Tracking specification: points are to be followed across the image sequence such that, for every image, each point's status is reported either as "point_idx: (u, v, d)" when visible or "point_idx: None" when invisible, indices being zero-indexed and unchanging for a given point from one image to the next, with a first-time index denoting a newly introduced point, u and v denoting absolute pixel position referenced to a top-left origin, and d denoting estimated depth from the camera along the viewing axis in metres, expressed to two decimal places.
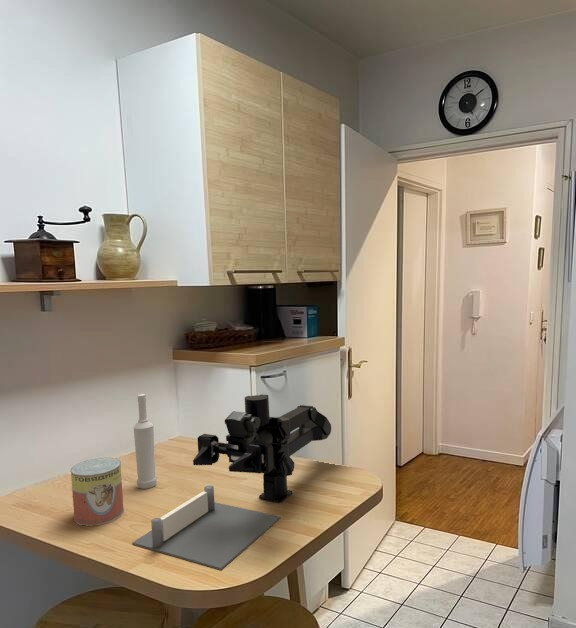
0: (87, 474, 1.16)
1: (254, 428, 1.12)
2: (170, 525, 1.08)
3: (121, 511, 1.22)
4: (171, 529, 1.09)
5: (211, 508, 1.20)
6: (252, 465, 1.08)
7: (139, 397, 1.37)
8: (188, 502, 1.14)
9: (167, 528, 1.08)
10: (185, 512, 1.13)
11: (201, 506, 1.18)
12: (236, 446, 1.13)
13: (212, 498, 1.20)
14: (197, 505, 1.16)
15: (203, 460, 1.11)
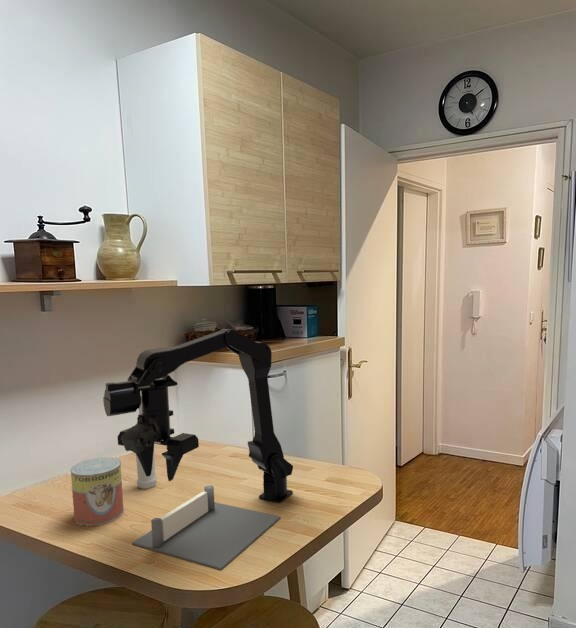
0: (87, 474, 1.16)
1: (154, 440, 1.05)
2: (170, 525, 1.08)
3: (121, 511, 1.22)
4: (171, 529, 1.09)
5: (211, 508, 1.20)
6: None
7: None
8: (188, 502, 1.14)
9: (167, 528, 1.08)
10: (185, 512, 1.13)
11: (201, 506, 1.18)
12: None
13: (212, 498, 1.20)
14: (197, 505, 1.16)
15: (149, 460, 1.14)
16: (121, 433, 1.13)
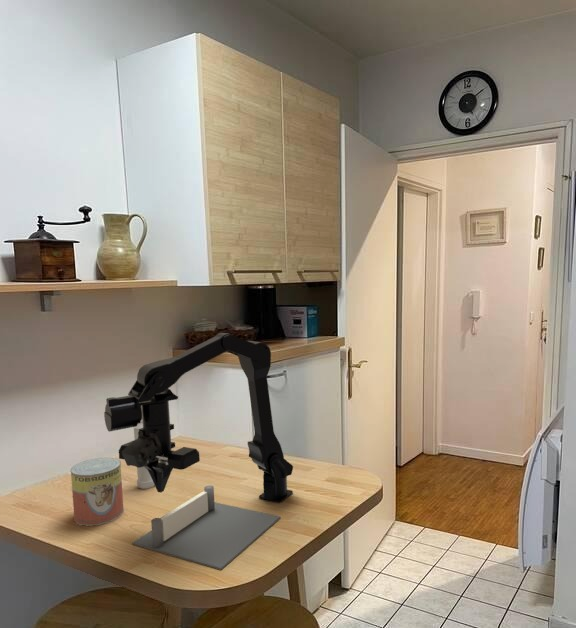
0: (87, 474, 1.16)
1: (155, 455, 1.05)
2: (170, 525, 1.08)
3: (121, 511, 1.22)
4: (171, 529, 1.09)
5: (211, 508, 1.20)
6: None
7: None
8: (188, 502, 1.14)
9: (167, 528, 1.08)
10: (185, 512, 1.13)
11: (201, 506, 1.18)
12: None
13: (212, 498, 1.20)
14: (197, 505, 1.16)
15: None
16: (122, 447, 1.13)
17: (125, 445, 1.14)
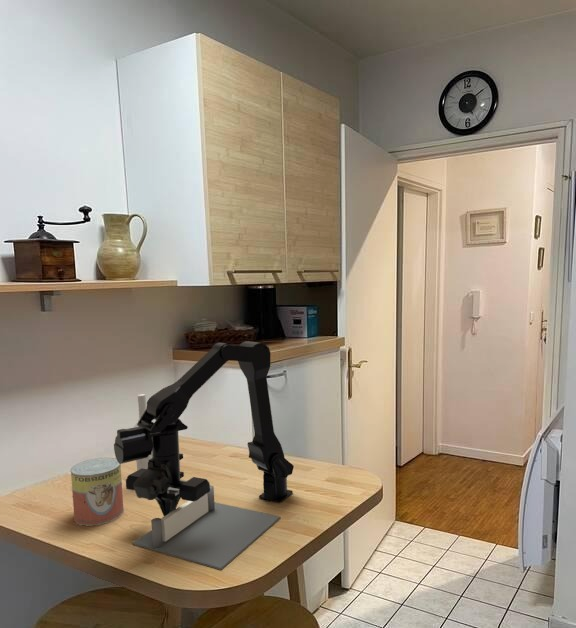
0: (87, 474, 1.16)
1: (167, 487, 1.05)
2: (171, 526, 1.08)
3: (121, 511, 1.22)
4: (172, 529, 1.08)
5: (211, 508, 1.20)
6: None
7: (139, 397, 1.37)
8: (189, 502, 1.14)
9: (168, 528, 1.07)
10: (186, 512, 1.13)
11: (201, 506, 1.18)
12: None
13: (212, 498, 1.20)
14: (197, 505, 1.16)
15: None
16: (129, 477, 1.12)
17: (132, 475, 1.13)
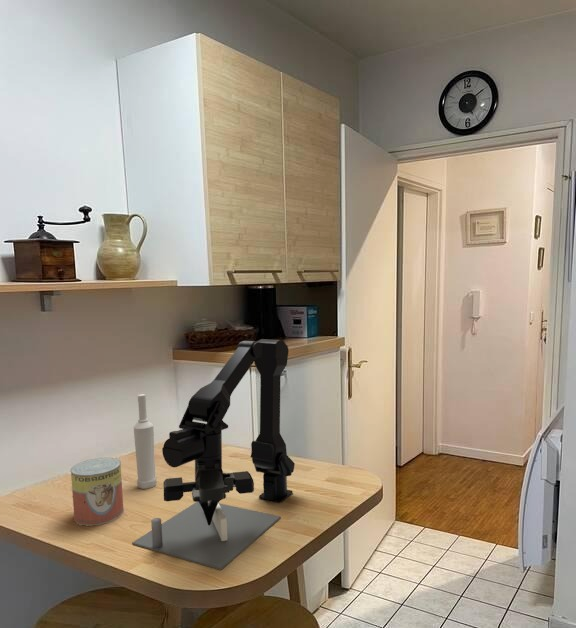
0: (87, 474, 1.16)
1: None
2: None
3: (121, 511, 1.22)
4: None
5: None
6: None
7: (139, 397, 1.37)
8: None
9: None
10: None
11: None
12: None
13: None
14: None
15: (208, 508, 1.10)
16: (169, 488, 1.04)
17: (171, 485, 1.05)
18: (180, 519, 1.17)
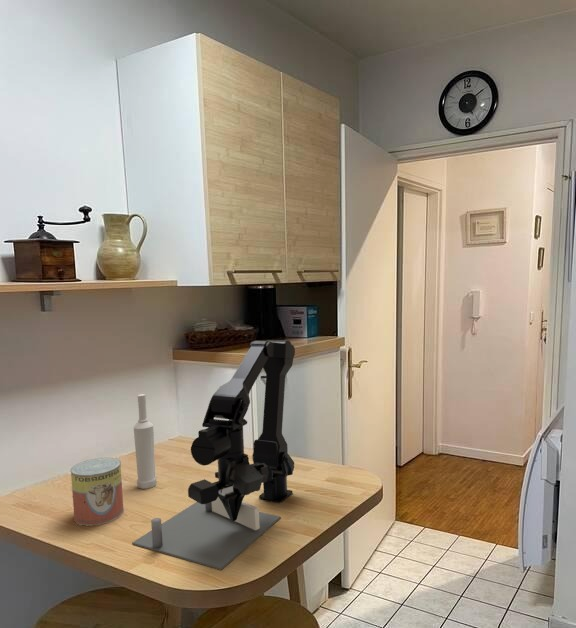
0: (87, 474, 1.16)
1: None
2: None
3: (121, 511, 1.22)
4: None
5: None
6: None
7: (139, 397, 1.37)
8: None
9: None
10: None
11: None
12: None
13: None
14: None
15: None
16: (205, 490, 1.03)
17: (205, 488, 1.04)
18: (180, 519, 1.17)
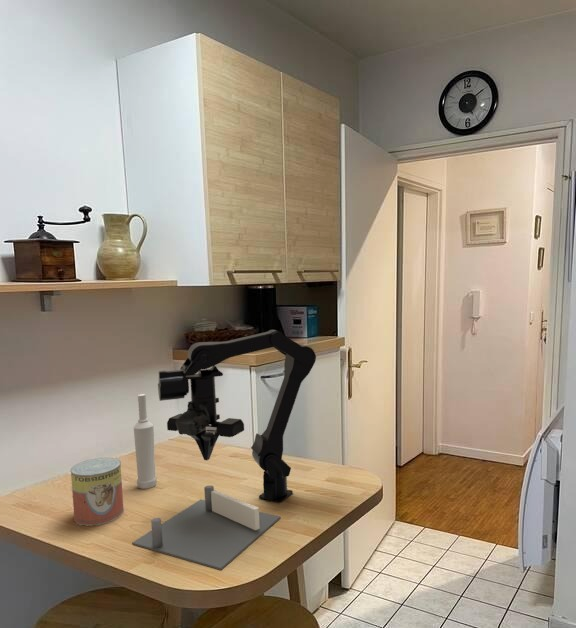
0: (87, 474, 1.16)
1: (206, 424, 1.15)
2: None
3: (121, 511, 1.22)
4: None
5: None
6: None
7: (139, 397, 1.37)
8: (230, 497, 1.16)
9: None
10: None
11: None
12: None
13: None
14: None
15: None
16: (170, 419, 1.23)
17: (173, 418, 1.24)
18: (180, 519, 1.17)
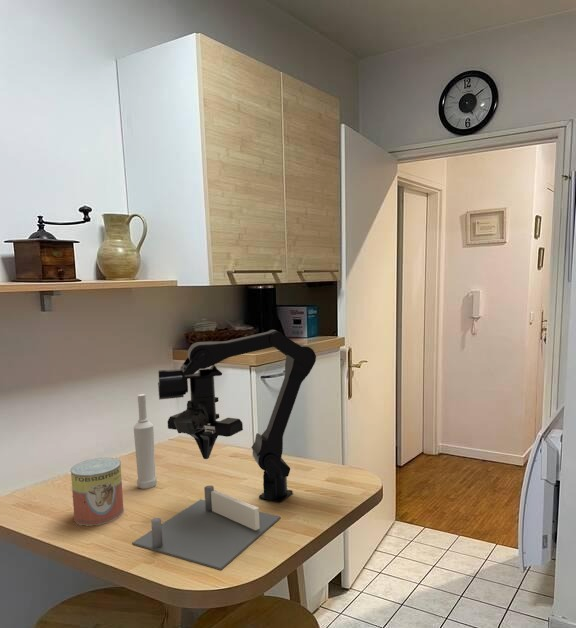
0: (87, 474, 1.16)
1: (204, 423, 1.16)
2: None
3: (121, 511, 1.22)
4: None
5: None
6: None
7: (139, 397, 1.37)
8: (230, 497, 1.16)
9: None
10: None
11: None
12: None
13: None
14: None
15: None
16: (171, 418, 1.24)
17: (173, 416, 1.25)
18: (180, 519, 1.17)
